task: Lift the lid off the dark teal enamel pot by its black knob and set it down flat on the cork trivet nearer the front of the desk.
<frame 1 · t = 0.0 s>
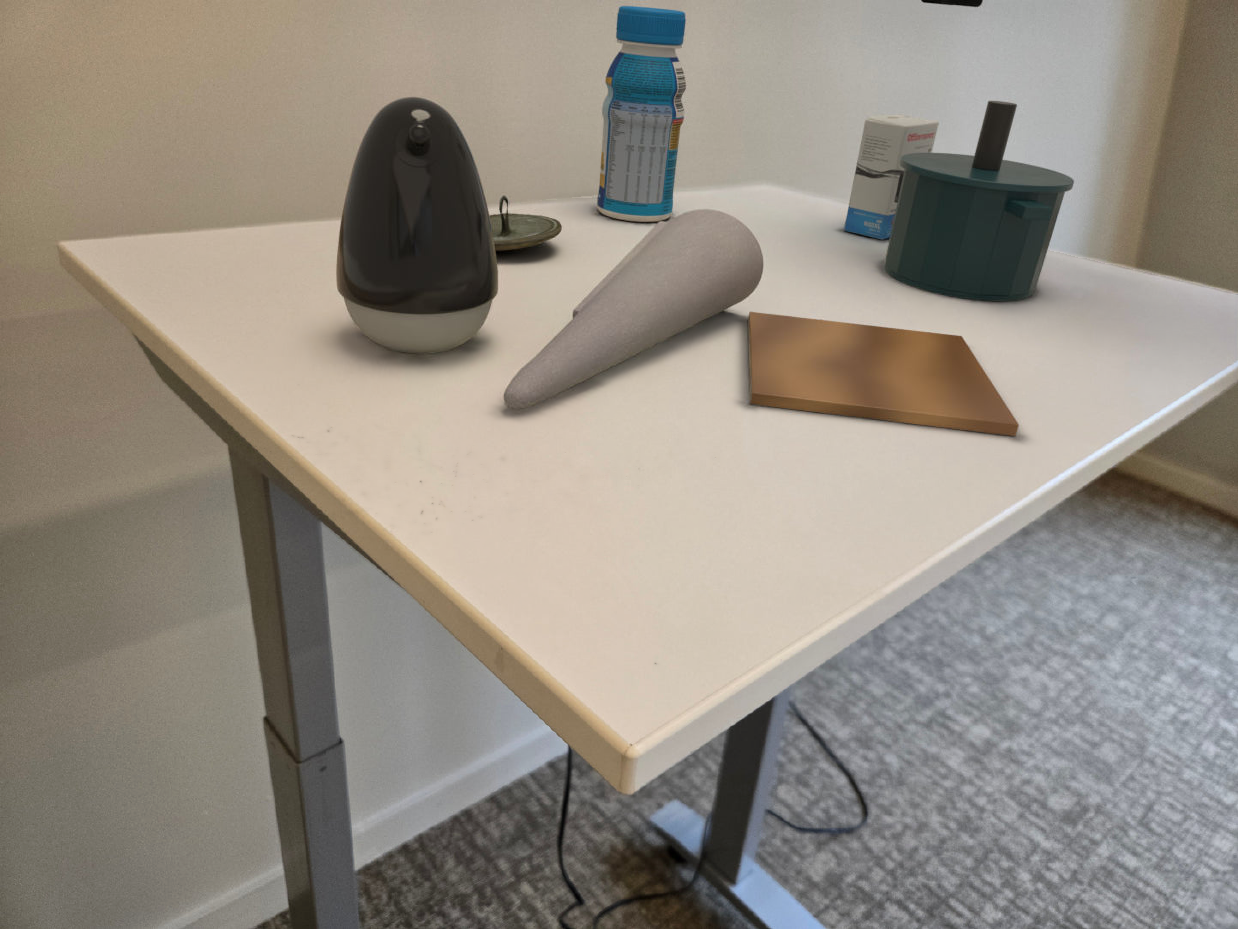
hand: (948, 4, 81), 23 cm above the table, tool pointing down, fingers open, 9 cm apart
ink box: (878, 232, 102), on the table
trivet: (865, 372, 63), on the table
pot: (957, 278, 87), on the table
lid: (503, 249, 84), on the table
beverage bottle: (633, 215, 100), on the table
pot lid: (983, 174, 83), point 9 cm above the table, touching pot
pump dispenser: (420, 343, 61), on the table
grey cone: (645, 359, 62), on the table
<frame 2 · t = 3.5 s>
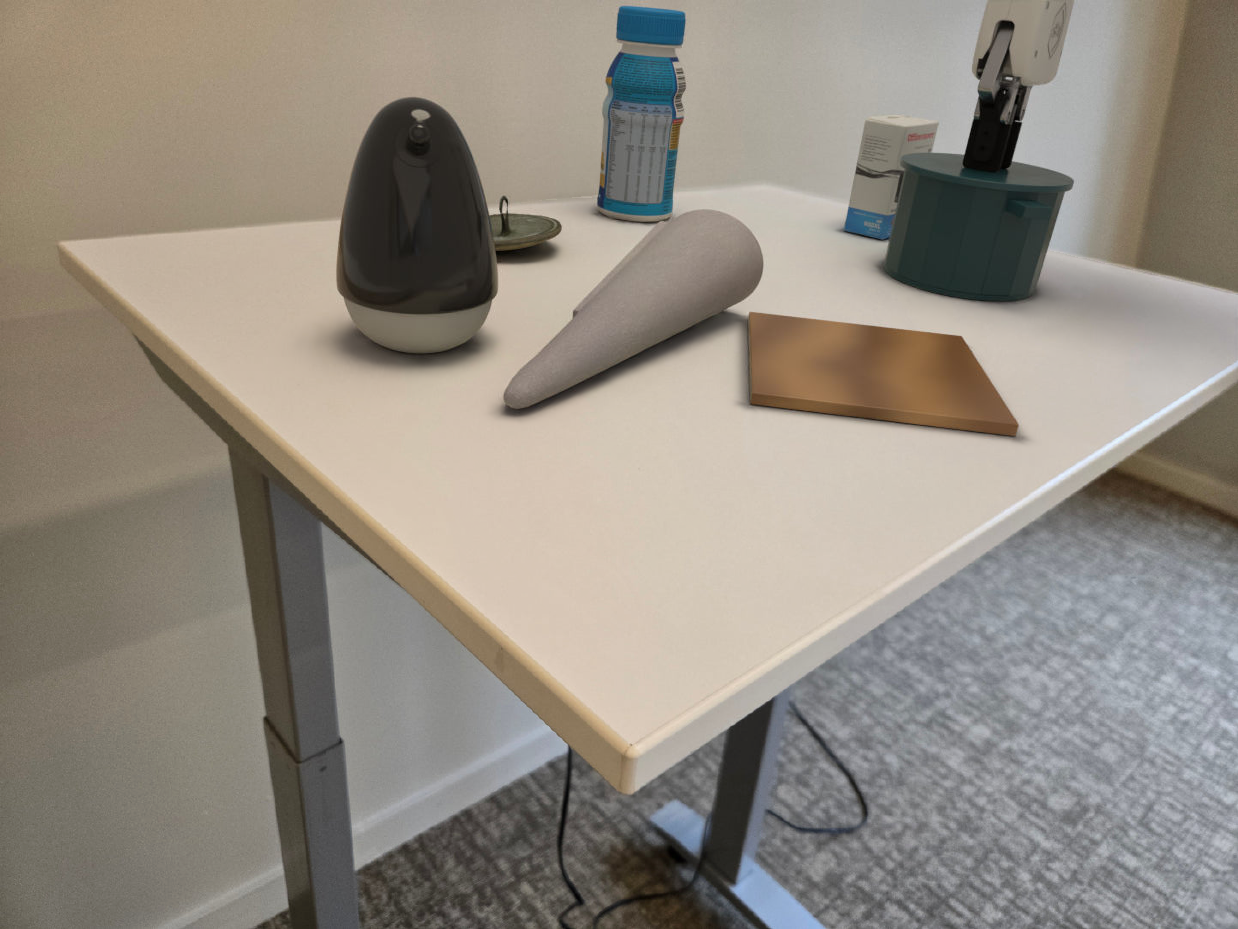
hand: (986, 165, 82), 10 cm above the table, tool pointing down, fingers closed on pot lid, 2 cm apart
pot lid: (983, 174, 83), point 10 cm above the table, touching gripper, pot
everything else where it was.
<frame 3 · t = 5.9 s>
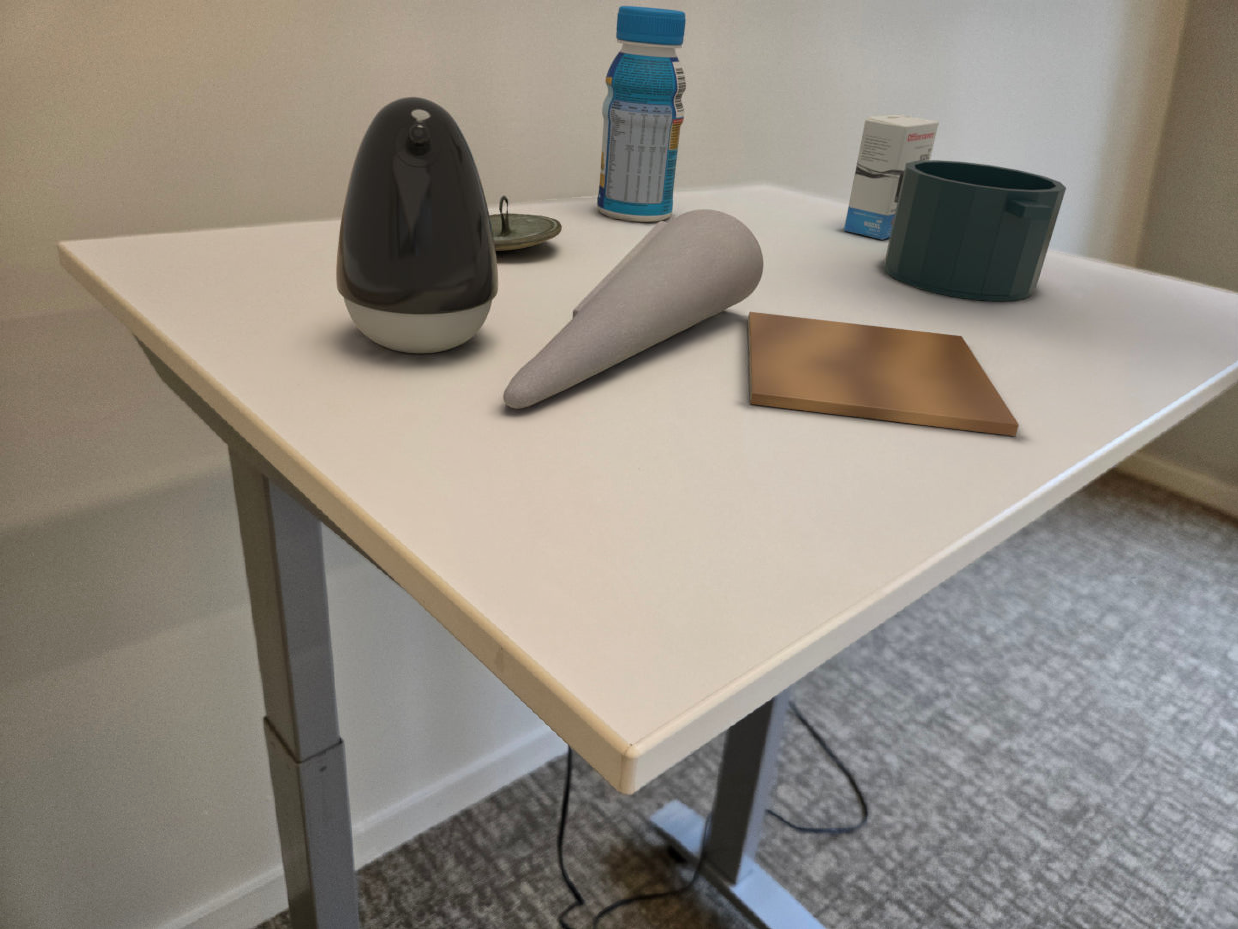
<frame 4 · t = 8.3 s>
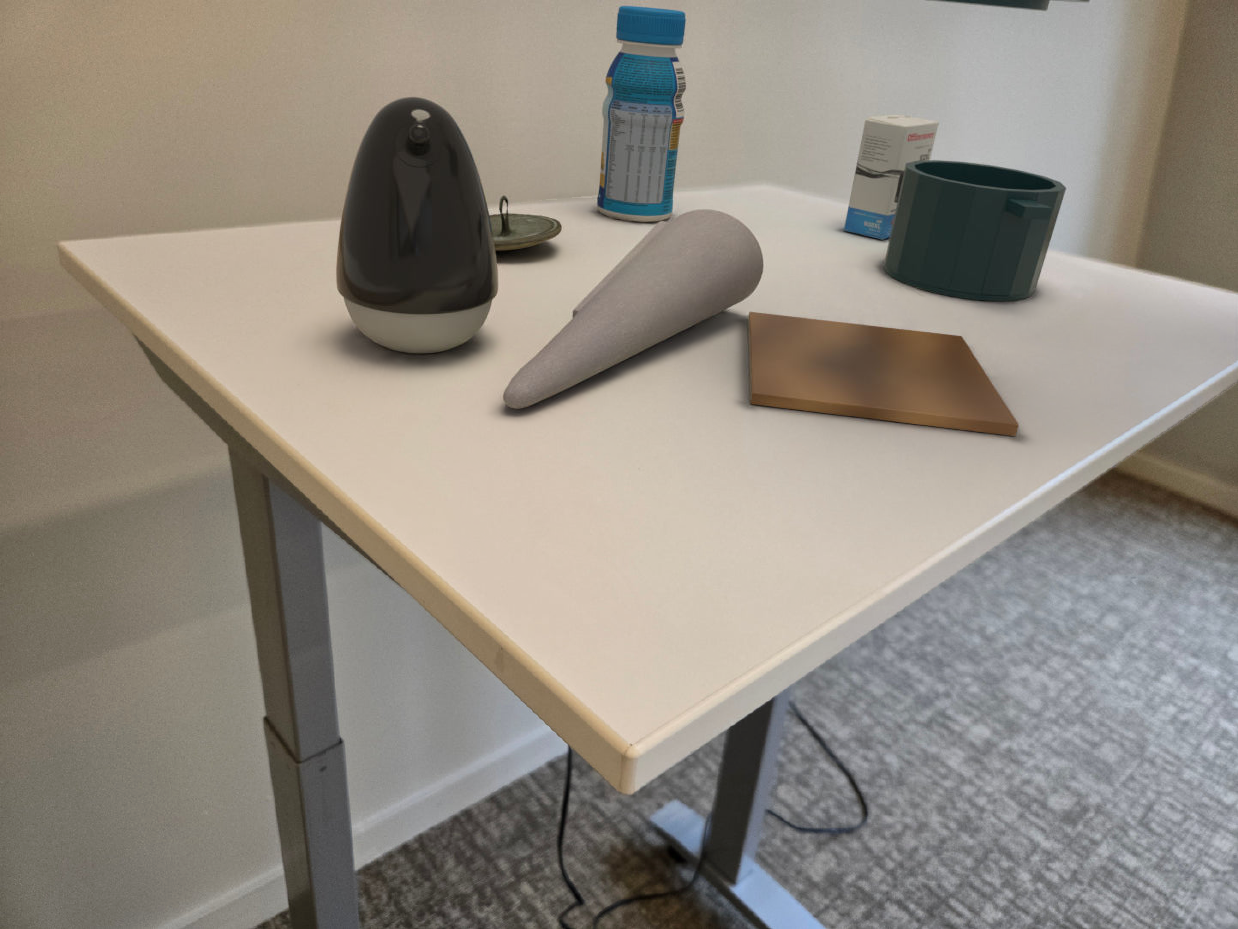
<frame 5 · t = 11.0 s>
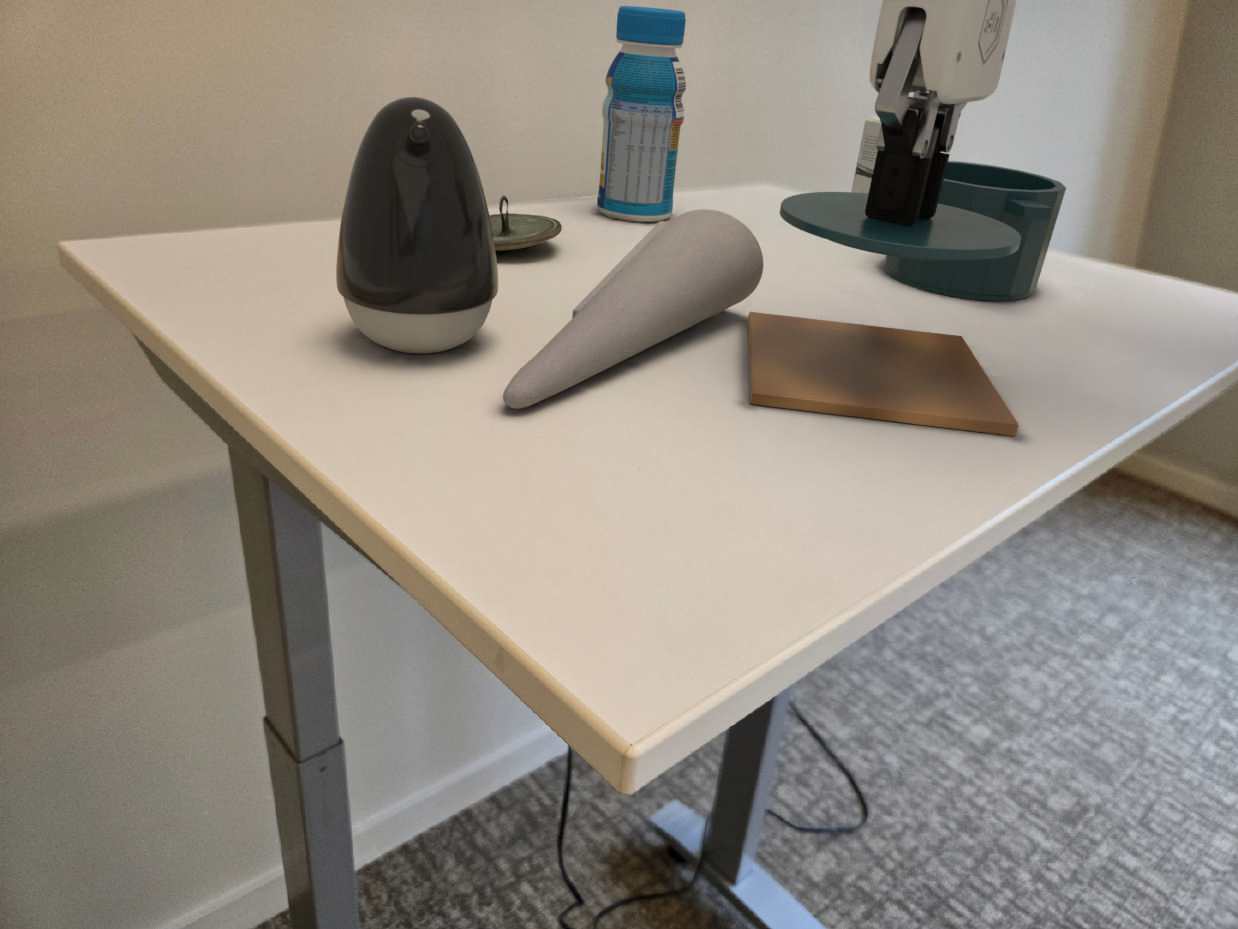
hand: (899, 215, 58), 11 cm above the table, tool pointing down, fingers closed on pot lid, 2 cm apart
pot lid: (896, 227, 58), point 10 cm above the table, touching gripper
everything else where it was.
when the fingers open (2 cm above the table, at t = 13.1 s): pot lid stays where it is, resting on trivet.
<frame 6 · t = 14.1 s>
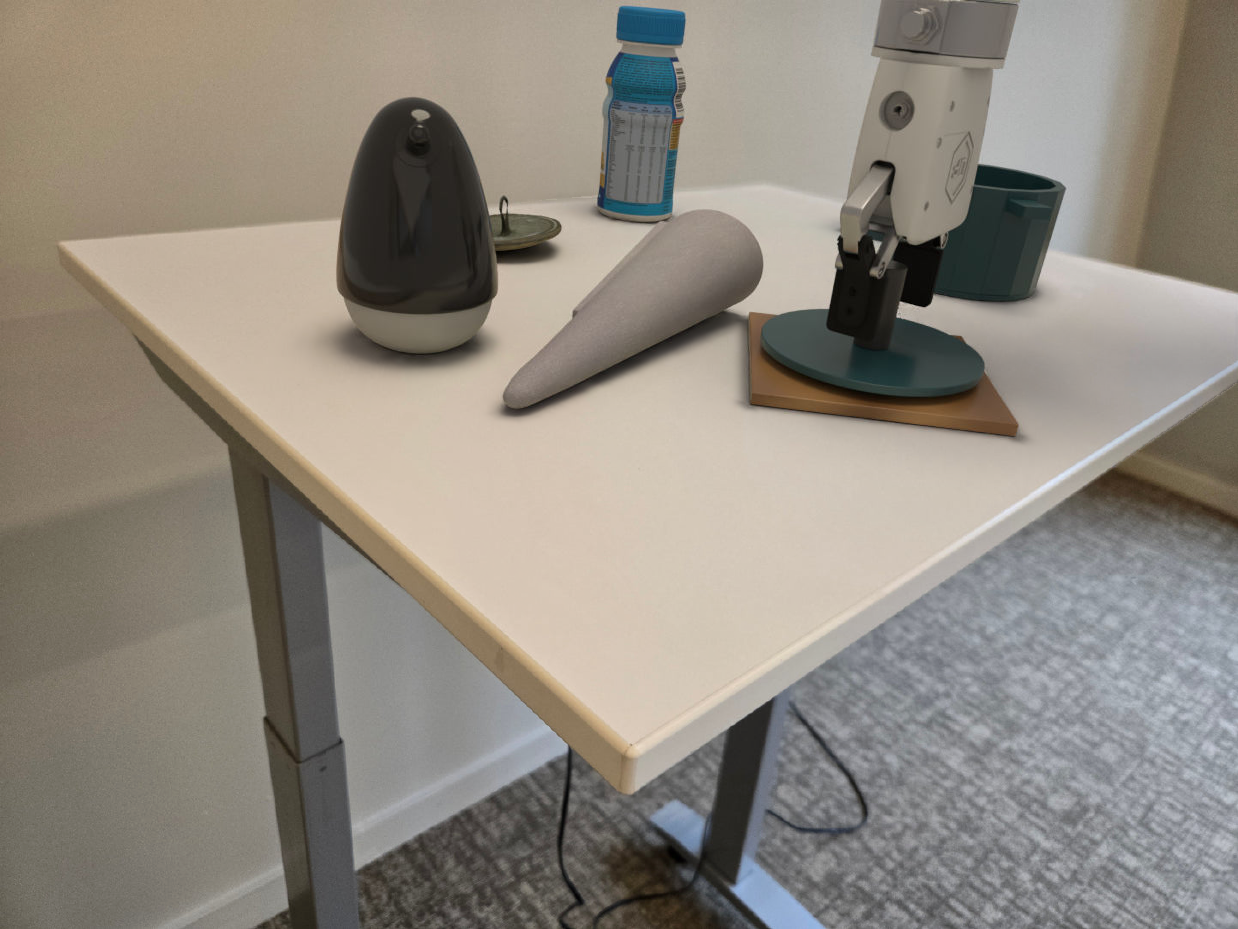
hand: (880, 317, 61), 4 cm above the table, tool pointing down, fingers open, 9 cm apart
pot lid: (869, 352, 62), point 1 cm above the table, touching trivet
everything else where it was.
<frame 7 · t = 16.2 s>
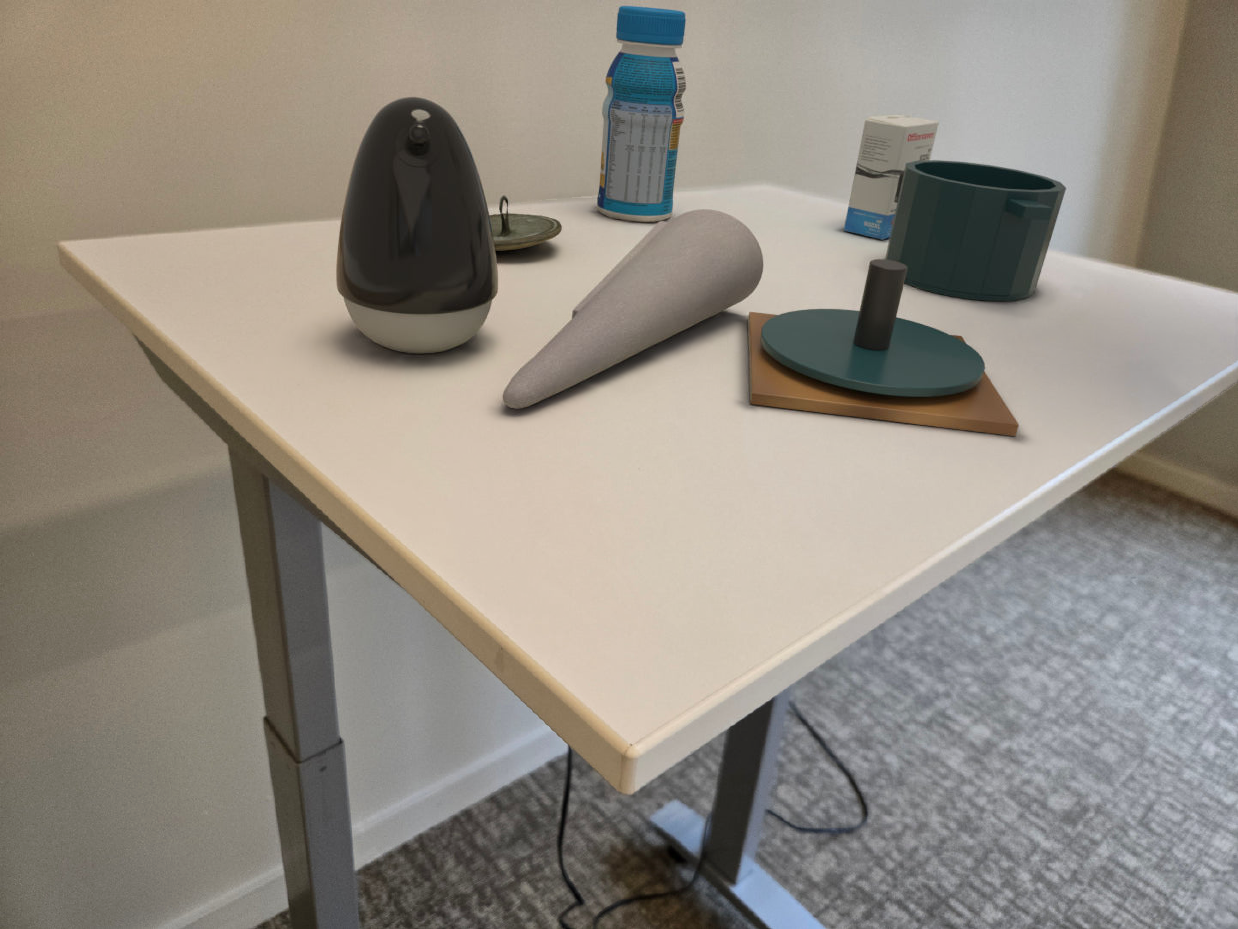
nothing on the table moved.
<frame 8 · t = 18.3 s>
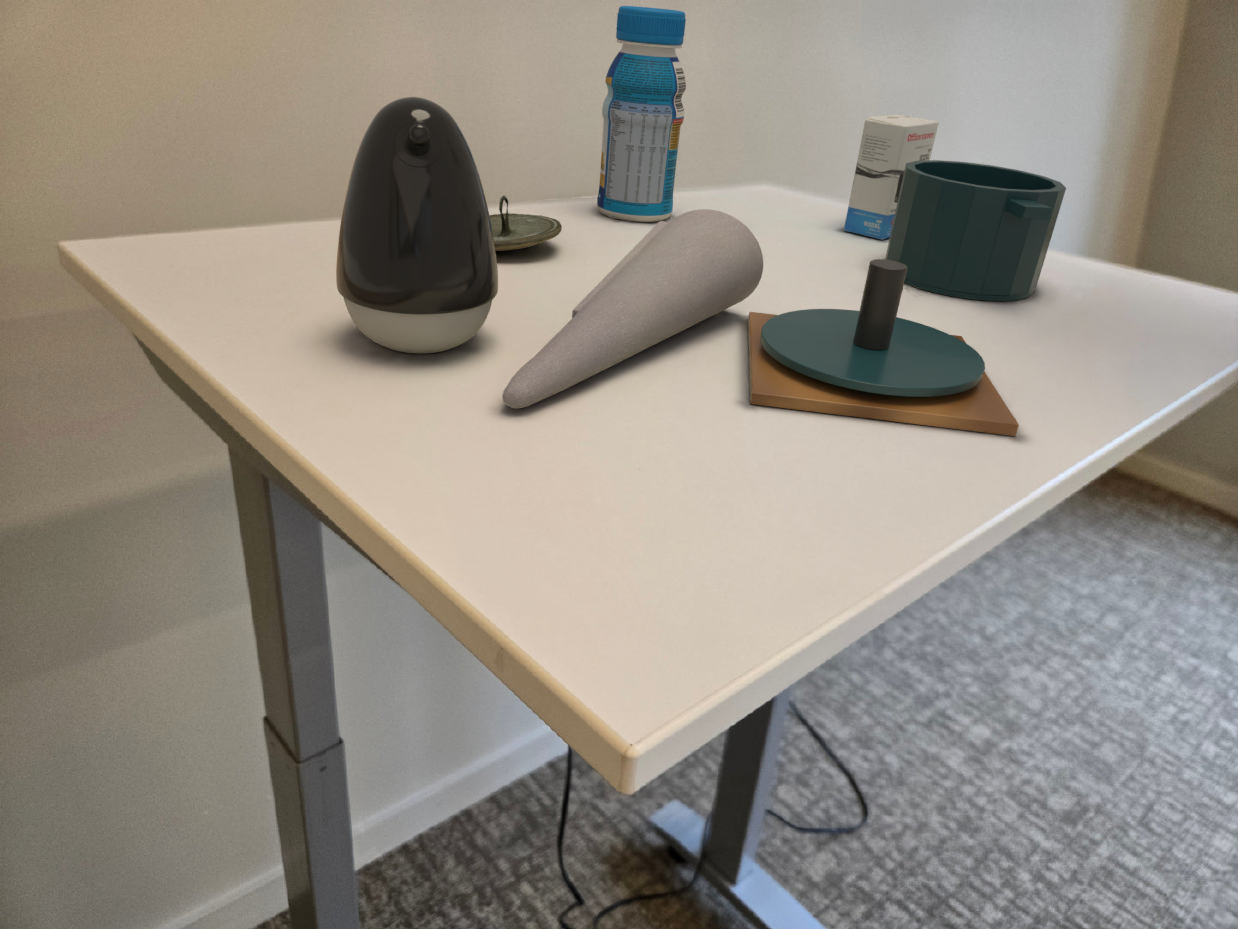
nothing on the table moved.
at the end: pot lid 0.0 cm off-centre on the trivet, point 1.4 cm above the trivet's base; pot lid tilted 0°; pot lid touching trivet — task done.
